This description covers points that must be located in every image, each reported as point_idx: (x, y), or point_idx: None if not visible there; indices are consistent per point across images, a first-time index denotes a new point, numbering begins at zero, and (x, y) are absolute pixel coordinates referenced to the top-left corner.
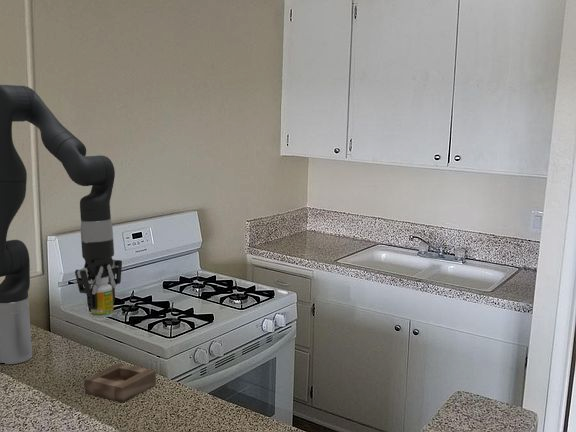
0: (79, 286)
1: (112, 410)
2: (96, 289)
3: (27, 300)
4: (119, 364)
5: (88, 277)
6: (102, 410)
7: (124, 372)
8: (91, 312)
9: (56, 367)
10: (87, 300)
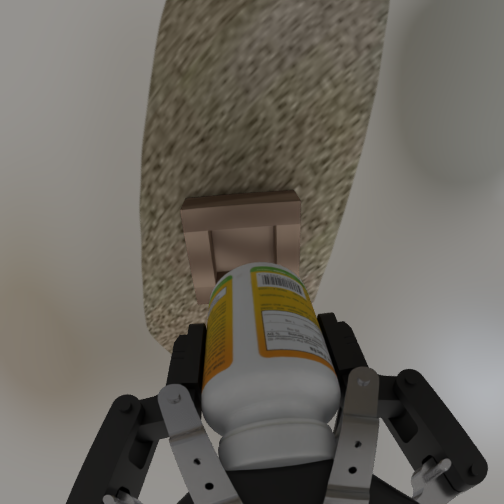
0: (104, 435)
1: (170, 292)
2: (213, 429)
3: None
4: (293, 210)
5: (192, 477)
6: (159, 280)
7: (275, 235)
8: (211, 299)
9: (259, 18)
10: (171, 362)
